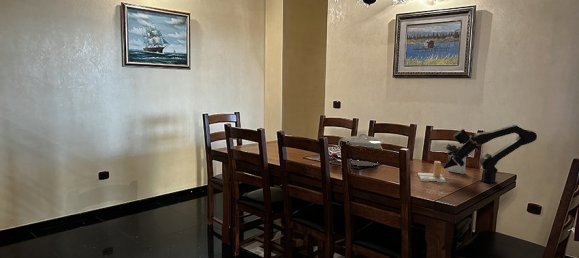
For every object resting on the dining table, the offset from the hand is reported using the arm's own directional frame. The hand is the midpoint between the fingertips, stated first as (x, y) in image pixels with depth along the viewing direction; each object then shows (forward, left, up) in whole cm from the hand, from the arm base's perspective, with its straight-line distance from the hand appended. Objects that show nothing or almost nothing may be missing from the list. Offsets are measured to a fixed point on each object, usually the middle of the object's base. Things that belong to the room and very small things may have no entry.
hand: (443, 167), depth 228 cm
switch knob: (+2, +3, -6) cm, 7 cm away
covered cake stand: (+47, +24, -7) cm, 53 cm away
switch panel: (+3, +5, -7) cm, 9 cm away
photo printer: (+11, -21, -7) cm, 25 cm away
